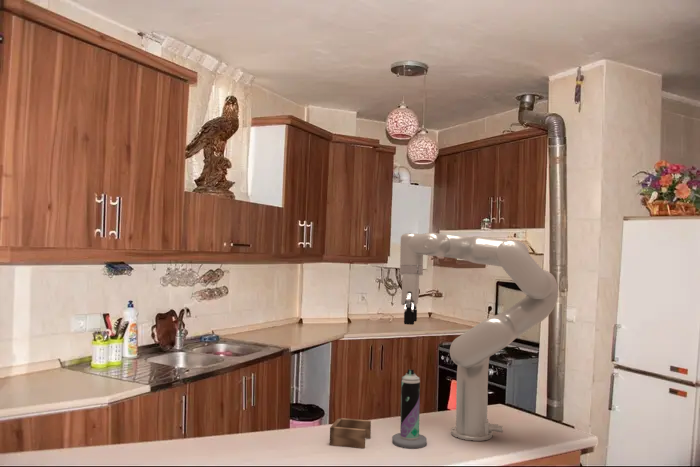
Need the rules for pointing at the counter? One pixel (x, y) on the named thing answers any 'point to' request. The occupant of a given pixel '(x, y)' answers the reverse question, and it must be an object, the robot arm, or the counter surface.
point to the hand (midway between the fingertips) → (410, 322)
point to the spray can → (410, 406)
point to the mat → (409, 442)
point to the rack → (350, 432)
